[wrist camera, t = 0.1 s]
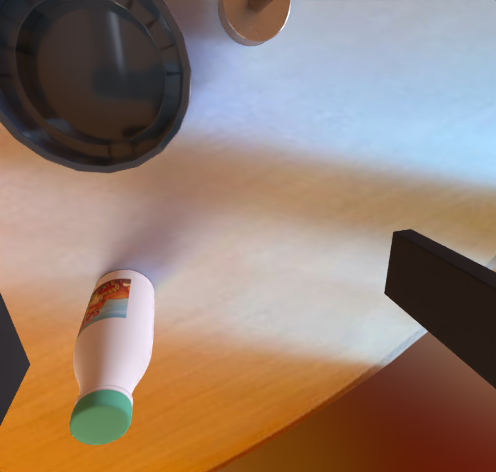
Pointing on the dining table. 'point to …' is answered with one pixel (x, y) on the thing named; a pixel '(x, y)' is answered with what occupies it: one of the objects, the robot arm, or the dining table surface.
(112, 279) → the milk bottle
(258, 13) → the brown rod with cylinder
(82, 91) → the bowl
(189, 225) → the dining table surface
